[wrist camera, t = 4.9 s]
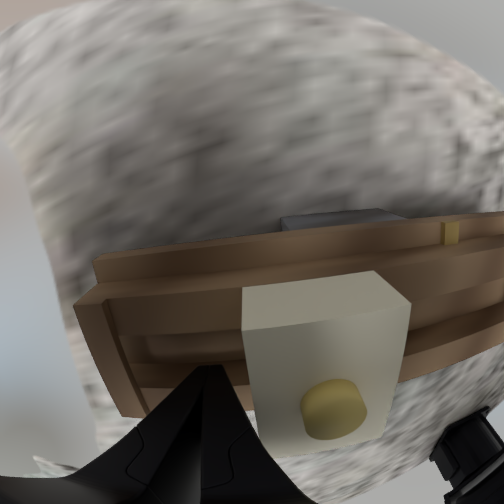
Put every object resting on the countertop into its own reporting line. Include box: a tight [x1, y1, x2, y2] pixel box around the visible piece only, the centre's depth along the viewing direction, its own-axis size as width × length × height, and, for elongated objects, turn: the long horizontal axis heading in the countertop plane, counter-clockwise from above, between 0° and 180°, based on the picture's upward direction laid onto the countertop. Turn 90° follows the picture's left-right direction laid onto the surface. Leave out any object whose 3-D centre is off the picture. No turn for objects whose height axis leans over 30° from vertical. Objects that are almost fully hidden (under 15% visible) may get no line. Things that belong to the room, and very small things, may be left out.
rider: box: [241, 270, 411, 459], centre depth 8 cm, size 4×5×5 cm
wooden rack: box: [73, 209, 504, 418], centre depth 12 cm, size 20×7×6 cm, turn 96°
